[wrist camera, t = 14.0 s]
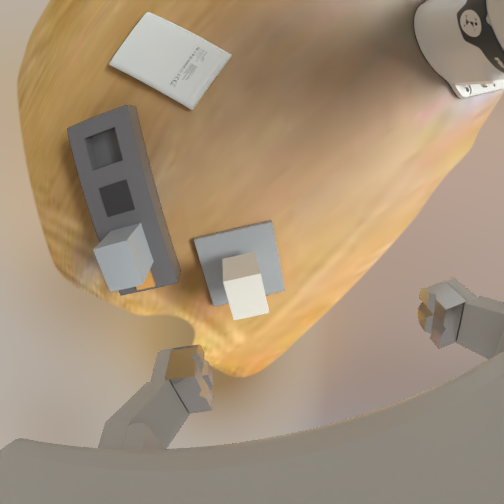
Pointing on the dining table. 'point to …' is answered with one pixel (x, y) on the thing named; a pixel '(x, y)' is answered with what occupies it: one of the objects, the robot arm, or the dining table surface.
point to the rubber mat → (240, 243)
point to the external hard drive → (170, 59)
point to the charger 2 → (244, 286)
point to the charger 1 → (124, 257)
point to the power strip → (123, 187)
